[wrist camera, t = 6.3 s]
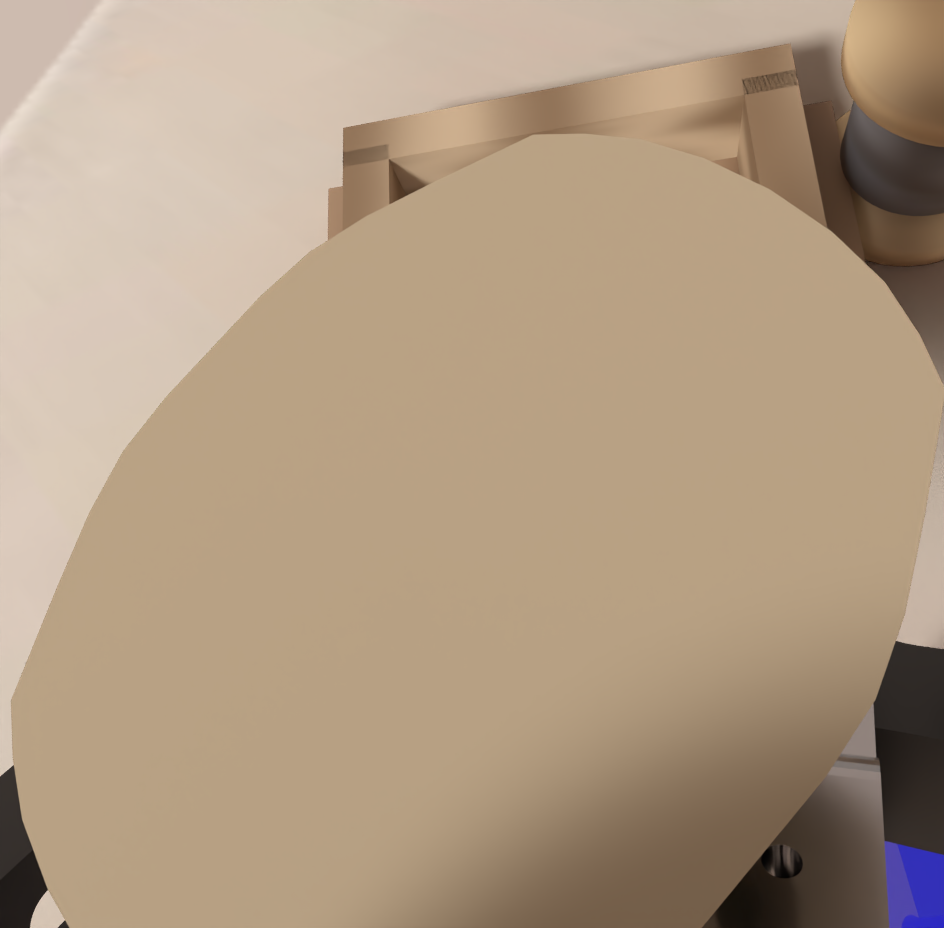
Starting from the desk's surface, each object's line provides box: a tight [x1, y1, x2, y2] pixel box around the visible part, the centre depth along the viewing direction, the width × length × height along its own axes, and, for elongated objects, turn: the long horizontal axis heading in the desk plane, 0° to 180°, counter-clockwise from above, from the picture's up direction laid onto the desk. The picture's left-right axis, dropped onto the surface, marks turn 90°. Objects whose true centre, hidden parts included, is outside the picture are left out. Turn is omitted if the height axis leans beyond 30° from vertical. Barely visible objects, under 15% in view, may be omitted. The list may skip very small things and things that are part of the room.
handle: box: [11, 134, 944, 928], centre depth 12 cm, size 5×6×15 cm
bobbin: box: [836, 0, 944, 266], centre depth 26 cm, size 6×6×7 cm
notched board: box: [328, 44, 866, 264], centre depth 28 cm, size 18×14×4 cm
